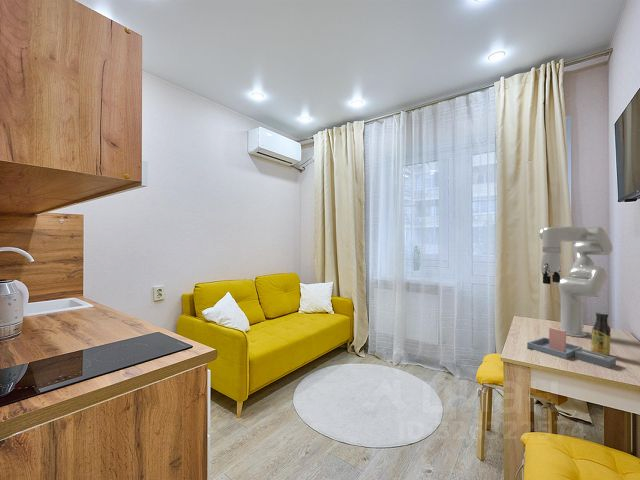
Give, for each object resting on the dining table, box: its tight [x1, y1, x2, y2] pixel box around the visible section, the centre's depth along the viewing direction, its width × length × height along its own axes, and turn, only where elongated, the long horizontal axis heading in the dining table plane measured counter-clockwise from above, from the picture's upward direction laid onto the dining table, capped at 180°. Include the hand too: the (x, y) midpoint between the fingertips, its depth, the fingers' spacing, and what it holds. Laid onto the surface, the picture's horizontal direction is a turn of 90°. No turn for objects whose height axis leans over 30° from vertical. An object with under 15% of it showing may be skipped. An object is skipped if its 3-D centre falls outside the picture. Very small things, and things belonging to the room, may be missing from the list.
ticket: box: [548, 327, 567, 353], centre depth 138 cm, size 2×6×10 cm, turn 30°
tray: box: [526, 336, 583, 360], centre depth 139 cm, size 16×16×3 cm
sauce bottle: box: [590, 311, 612, 356], centre depth 134 cm, size 6×6×20 cm
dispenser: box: [574, 348, 617, 369], centre depth 126 cm, size 7×11×4 cm, turn 28°
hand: (551, 283), depth 154 cm, fingers open, 9 cm apart
